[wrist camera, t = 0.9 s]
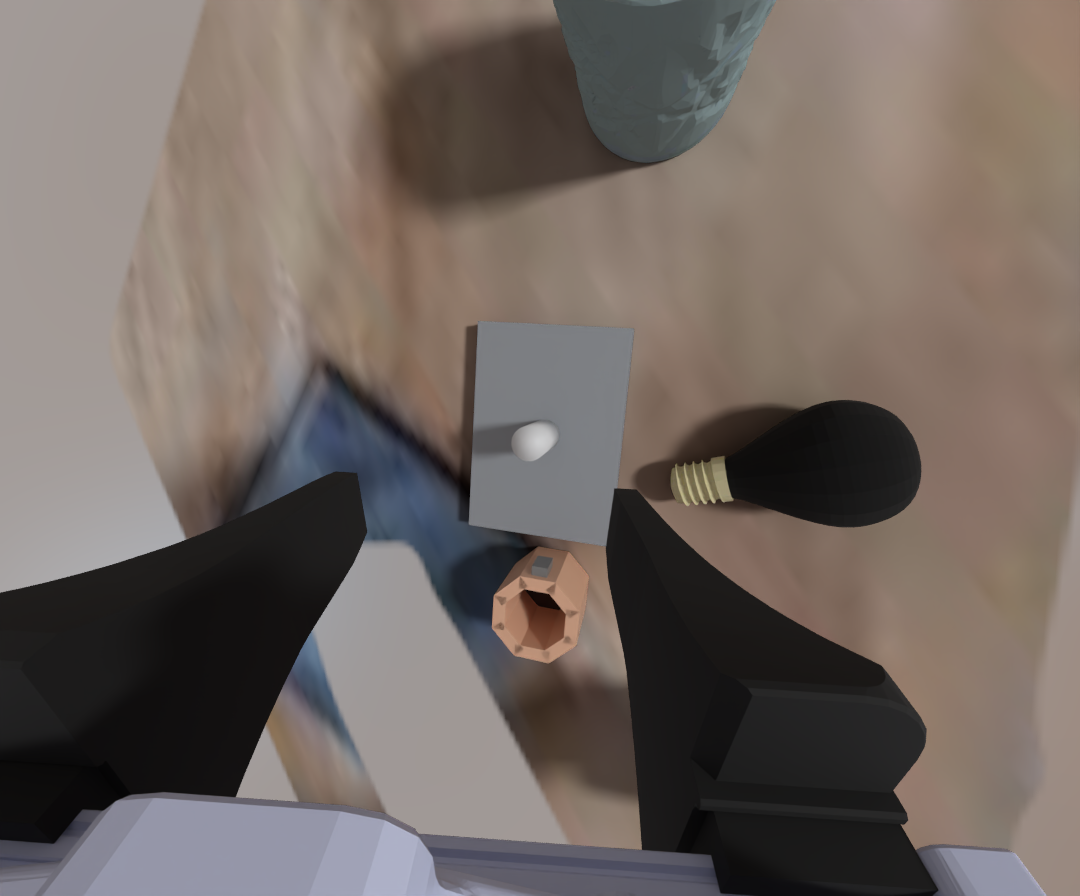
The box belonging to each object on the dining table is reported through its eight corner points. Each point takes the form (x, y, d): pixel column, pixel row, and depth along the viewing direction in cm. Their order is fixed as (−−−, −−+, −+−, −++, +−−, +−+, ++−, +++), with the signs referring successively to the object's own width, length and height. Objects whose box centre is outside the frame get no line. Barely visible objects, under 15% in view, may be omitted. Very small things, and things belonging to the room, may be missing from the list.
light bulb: (659, 525, 23) (958, 499, 17) (651, 415, 25) (905, 361, 20) (688, 549, 28) (925, 536, 22) (679, 456, 31) (887, 422, 25)
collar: (584, 625, 31) (573, 668, 26) (512, 611, 32) (490, 650, 27) (591, 547, 30) (582, 578, 25) (517, 535, 31) (495, 562, 26)
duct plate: (611, 540, 29) (605, 575, 24) (475, 519, 31) (442, 547, 26) (634, 330, 27) (632, 318, 21) (484, 323, 29) (450, 310, 24)
